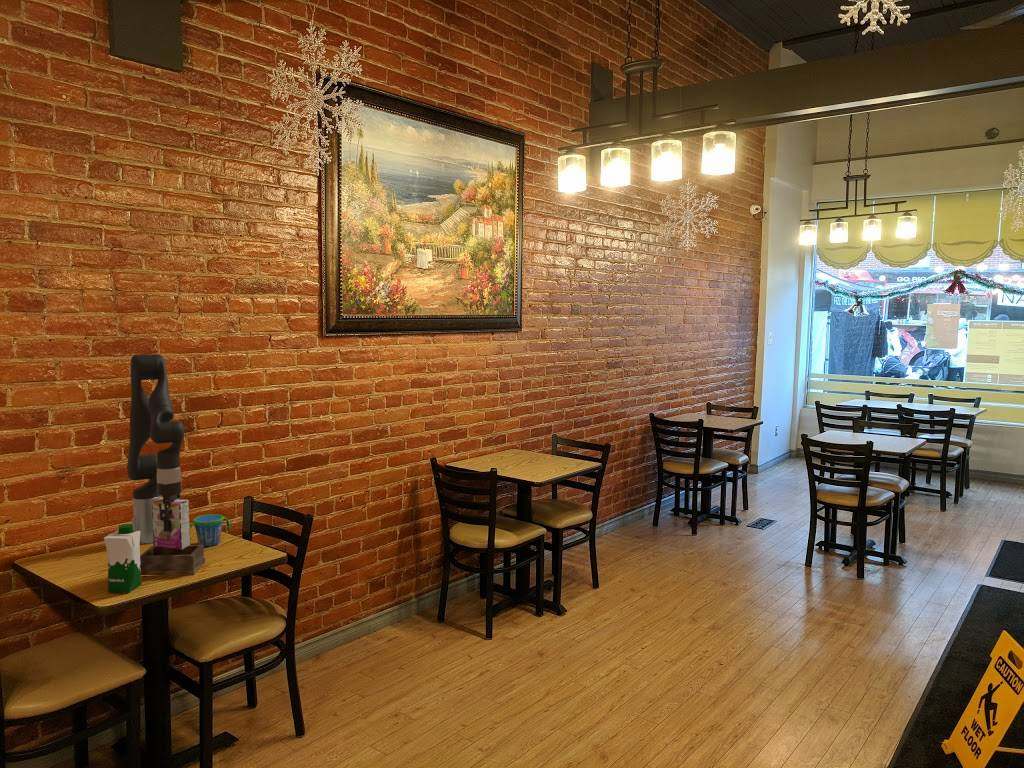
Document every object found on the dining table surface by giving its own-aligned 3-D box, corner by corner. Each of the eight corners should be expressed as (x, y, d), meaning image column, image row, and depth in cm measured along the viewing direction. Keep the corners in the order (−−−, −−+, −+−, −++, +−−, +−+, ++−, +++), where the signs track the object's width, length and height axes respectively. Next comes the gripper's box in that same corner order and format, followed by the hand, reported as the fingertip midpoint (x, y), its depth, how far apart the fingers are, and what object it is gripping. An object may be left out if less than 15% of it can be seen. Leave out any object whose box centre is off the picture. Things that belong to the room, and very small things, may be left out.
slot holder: (138, 576, 243) (137, 557, 242) (151, 563, 255) (151, 545, 254) (194, 574, 245) (193, 555, 244) (205, 562, 257) (204, 544, 256)
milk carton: (145, 583, 237) (143, 524, 234) (129, 594, 228) (127, 532, 225) (119, 583, 237) (116, 523, 235) (102, 594, 228) (99, 531, 226)
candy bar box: (152, 547, 248) (150, 500, 246) (162, 543, 253) (160, 497, 251) (181, 550, 246) (180, 503, 244) (191, 545, 251) (189, 499, 249)
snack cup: (191, 551, 268) (190, 524, 267) (184, 544, 276) (183, 518, 275) (234, 543, 277) (233, 517, 276) (226, 536, 286) (225, 511, 285)
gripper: (165, 475, 254) (167, 522, 255) (149, 485, 239) (151, 535, 241) (187, 475, 254) (189, 522, 256) (173, 485, 240) (175, 534, 242)
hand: (171, 528), depth 249 cm, fingers closed on candy bar box, 6 cm apart
